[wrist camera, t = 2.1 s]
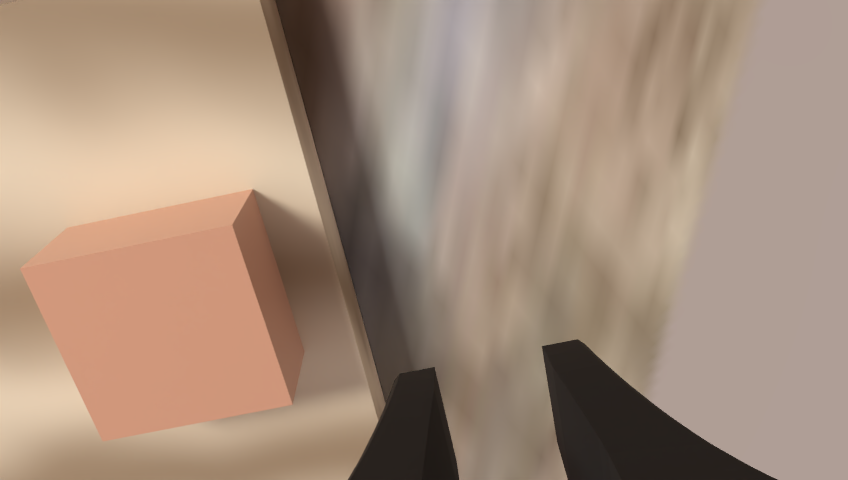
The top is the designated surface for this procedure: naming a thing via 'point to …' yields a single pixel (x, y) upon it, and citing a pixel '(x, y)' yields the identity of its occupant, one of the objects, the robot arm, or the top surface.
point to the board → (157, 188)
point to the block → (170, 315)
